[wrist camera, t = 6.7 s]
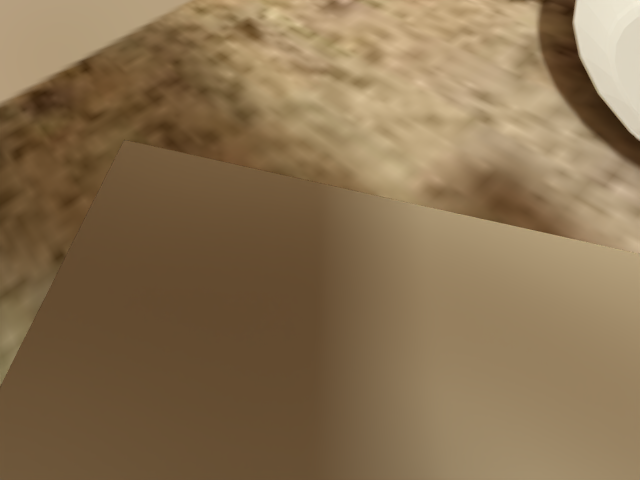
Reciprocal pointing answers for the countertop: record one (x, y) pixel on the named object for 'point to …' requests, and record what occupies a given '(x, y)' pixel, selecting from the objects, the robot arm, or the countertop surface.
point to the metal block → (319, 340)
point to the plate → (612, 54)
